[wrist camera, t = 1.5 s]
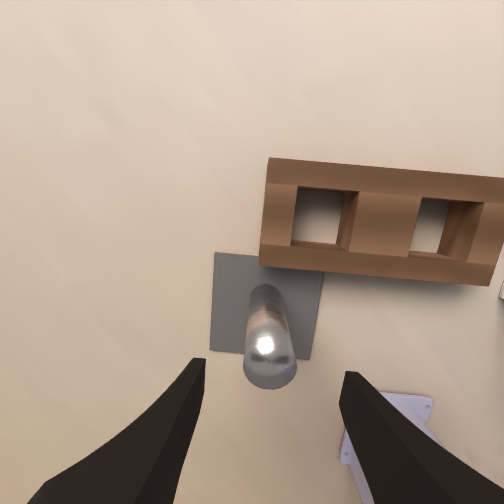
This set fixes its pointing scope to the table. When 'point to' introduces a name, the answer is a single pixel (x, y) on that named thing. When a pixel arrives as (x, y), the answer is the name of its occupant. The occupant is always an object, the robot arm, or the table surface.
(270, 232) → the walnut hole block
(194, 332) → the table surface
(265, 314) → the peg
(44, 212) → the table surface
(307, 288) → the rubber mat
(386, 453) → the robot arm
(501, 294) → the syrup box
